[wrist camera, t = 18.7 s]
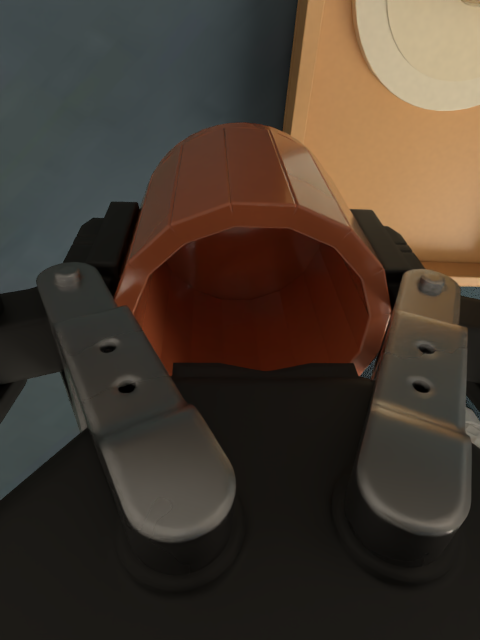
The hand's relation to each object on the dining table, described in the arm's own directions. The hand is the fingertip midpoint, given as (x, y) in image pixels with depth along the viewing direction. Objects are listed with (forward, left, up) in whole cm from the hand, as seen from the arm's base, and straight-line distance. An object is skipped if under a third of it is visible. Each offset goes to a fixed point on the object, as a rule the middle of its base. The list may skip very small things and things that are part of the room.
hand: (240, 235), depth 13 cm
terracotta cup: (0, 0, -1) cm, 1 cm away
